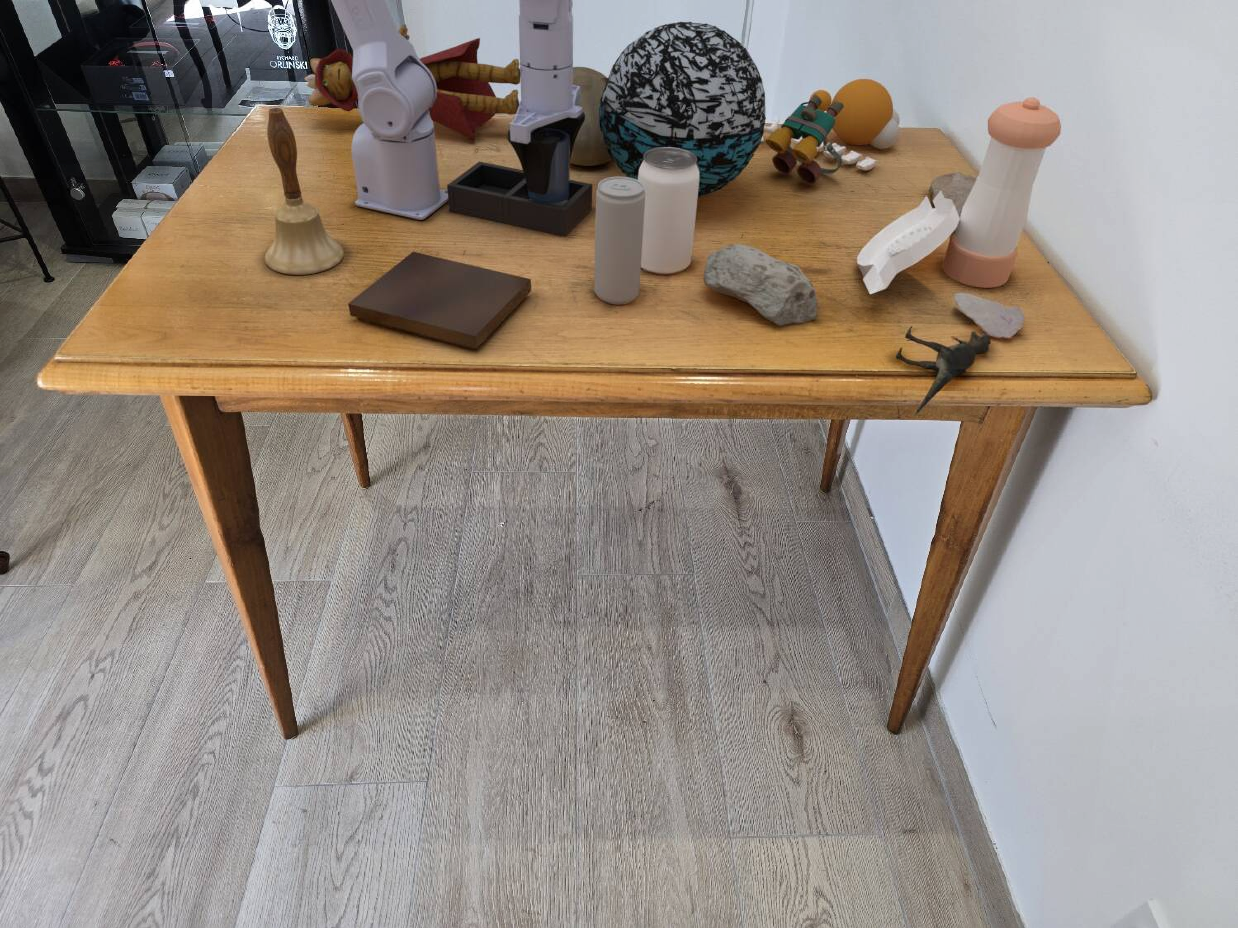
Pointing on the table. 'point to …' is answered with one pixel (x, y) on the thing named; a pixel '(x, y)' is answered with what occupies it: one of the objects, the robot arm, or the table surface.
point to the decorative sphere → (685, 101)
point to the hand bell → (296, 213)
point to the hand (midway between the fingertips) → (547, 183)
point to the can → (668, 209)
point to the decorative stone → (762, 283)
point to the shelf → (441, 299)
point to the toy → (863, 114)
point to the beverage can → (618, 239)
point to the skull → (589, 119)
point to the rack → (515, 200)
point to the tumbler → (557, 171)
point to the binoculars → (805, 140)
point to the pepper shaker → (1001, 194)
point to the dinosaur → (948, 360)
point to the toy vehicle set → (846, 156)
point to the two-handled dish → (906, 241)
